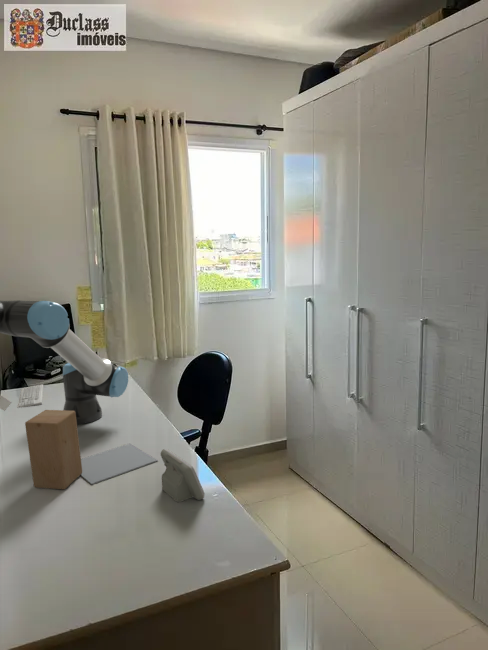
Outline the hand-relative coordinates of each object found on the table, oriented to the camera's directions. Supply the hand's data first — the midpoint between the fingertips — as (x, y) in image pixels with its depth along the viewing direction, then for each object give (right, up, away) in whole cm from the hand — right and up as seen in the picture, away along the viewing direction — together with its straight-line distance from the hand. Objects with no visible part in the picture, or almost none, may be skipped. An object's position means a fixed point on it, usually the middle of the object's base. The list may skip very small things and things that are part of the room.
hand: (0, 400), depth 130 cm
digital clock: (+48, -26, +6) cm, 55 cm away
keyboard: (-33, -13, +94) cm, 100 cm away
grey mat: (+23, -23, +24) cm, 41 cm away
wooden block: (+10, -26, +13) cm, 31 cm away
